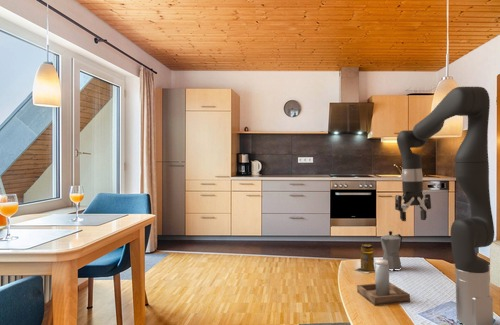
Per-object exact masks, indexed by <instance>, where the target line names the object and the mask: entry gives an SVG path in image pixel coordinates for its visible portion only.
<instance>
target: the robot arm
mask: <svg viewBox="0 0 500 325" xmlns="http://www.w3.org/2000/svg"><path fill="white" fill-rule="evenodd" d="M490 100H491V99H490V94H489V92H488V91H487V89H486V88H485V87H482V86H457V87H454V88H453V89H451V90H450V91H449V92H448V93H447V94H445V96H444V97H443V99H441V101H439V103H438V104H437V105H436V106H435V107H434V108H433V110H432V111H431V112H430V113H429V114H428V115H426V116H425V117H424V118H423V119H421V120H420V121H418V122H417V123H416V124H414V126H413V127H412V129H411V130H406V129H405V130H401V131H400V132H399V133H397V136H396V144H397V147H398V150H399V153H400V156H401V163H402V167H401V168H402V170H401V182H402V183H401V184H402V185H401V186H402V187H401V188H402V189H401V190H402V195H401V194H400V195H399V194H396V195H395V196H394V198H395V199H394V200H395V201H394V202H395V204H394V209H395V210H396V211H399V219H400V220H401V221H402V222H407V212H406V211H407V210H408V208H410V206H411V207H412V206H418V207H419V209H420V213H419V214H420V220H421V221H426V220H427V217H428V216H427V211H428V210H431V209H432V199H431V194H429V193H424V194H423V191H424V183H423V181H424V180H423V178H424V177H423V175H424V174H423V171H422V166H423V165H422V156H421V155H420V154H419V153H414V152H413V151H412V150H411V149H414V148H415V149H416V148H418V149H419V148H422V147H424V146H425V145H426V144H427V142H428V141H429V139H430V138H432V137H433V136H435V135H436V134H438V133H439V132H440V131H441V130H442V129H443V127H444V125H445V121H446V120H448V119H450V118H452V117H455V116H460V117H466V116H467V130H466V134H465V136H464V138H463V140H462V141H461V143H460V145H459V147H458V148H457V151H456V153H455V155H454V172H455V173H454V174H455V179H456V182H457V183H458V185H459V187H460V189H461V190H462V192H463V193H464V195H465V196H466V199H467V200H468V202H469V207H470V208H469V209H470V217H469V218H459V219H458V218H457V219H455V220H454V221H453V222H452V224H451V226H450V243H451V253H452V254H451V255H452V258H453V262H454V267H455V268H454V273H455V274H454V275H455V299H456V300H455V302H456V303H455V305H456V306H455V309H456V320H457V319H458V320H459V321H460V322H461V323H463V324H465V325H494V304H493V296H491V294H490V292H491V291H490V265H489V262H488V261H487V259H485V258H481V257H478V256H477V255H476V250H475V249H476V248H477V249H478V248H486V247H489V246H491V244H493V242H494V240H495V239H494V238H495V227H494V218H493V213H492V206H491V195H490V168H489V167H490V166H489V164H490V163H489V151H488V150H489V146H488V145H489V144H488V142H489V138H488V137H489V136H488V134H489V132H488V131H489V120H490V119H489V118H490V117H489V115H490V107H491V106H490V105H491V104H490V103H491V101H490Z"/></svg>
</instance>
